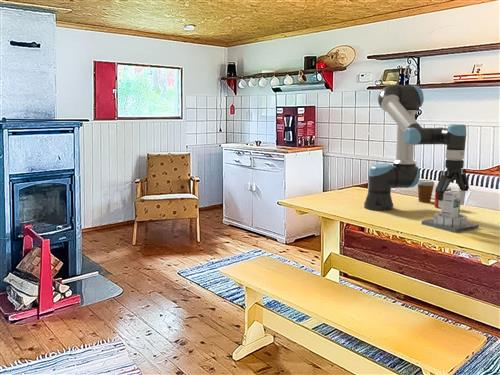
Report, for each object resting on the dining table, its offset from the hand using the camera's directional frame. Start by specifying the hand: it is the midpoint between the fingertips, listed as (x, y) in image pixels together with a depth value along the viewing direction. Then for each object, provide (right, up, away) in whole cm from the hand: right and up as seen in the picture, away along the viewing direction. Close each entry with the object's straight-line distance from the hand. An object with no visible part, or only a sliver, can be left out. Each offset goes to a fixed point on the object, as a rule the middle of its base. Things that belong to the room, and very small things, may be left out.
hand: (451, 206), depth 215 cm
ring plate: (0, -9, +2) cm, 9 cm away
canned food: (+13, -3, +42) cm, 44 cm away
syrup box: (0, -8, +1) cm, 8 cm away
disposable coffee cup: (+9, 0, +58) cm, 59 cm away
